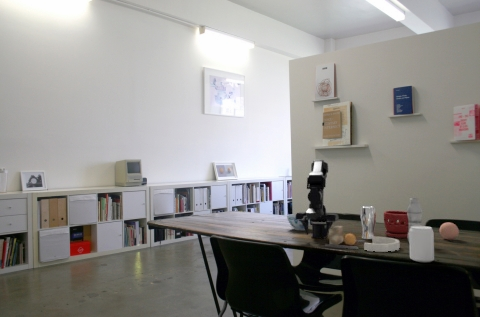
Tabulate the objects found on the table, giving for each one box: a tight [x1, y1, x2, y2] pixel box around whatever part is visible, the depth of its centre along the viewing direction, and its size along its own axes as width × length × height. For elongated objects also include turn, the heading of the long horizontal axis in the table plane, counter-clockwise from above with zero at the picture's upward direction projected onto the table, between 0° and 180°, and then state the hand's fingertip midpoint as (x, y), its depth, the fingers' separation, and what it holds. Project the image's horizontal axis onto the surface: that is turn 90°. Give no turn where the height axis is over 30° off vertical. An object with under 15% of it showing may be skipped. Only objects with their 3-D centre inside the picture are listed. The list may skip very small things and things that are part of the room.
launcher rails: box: [324, 238, 367, 250], centre depth 175 cm, size 14×16×1 cm
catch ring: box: [363, 235, 401, 253], centre depth 167 cm, size 12×19×3 cm, turn 151°
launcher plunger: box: [328, 225, 344, 245], centre depth 177 cm, size 3×12×7 cm, turn 151°
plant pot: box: [383, 210, 409, 239], centre depth 194 cm, size 13×13×12 cm
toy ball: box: [439, 222, 460, 241], centre depth 184 cm, size 8×8×8 cm
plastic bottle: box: [406, 197, 423, 242], centre depth 175 cm, size 6×7×20 cm
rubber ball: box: [343, 233, 357, 246], centre depth 174 cm, size 5×5×5 cm
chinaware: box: [286, 213, 311, 231], centre depth 220 cm, size 15×15×8 cm
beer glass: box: [360, 205, 377, 240], centre depth 190 cm, size 7×7×15 cm
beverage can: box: [408, 225, 435, 263], centre depth 145 cm, size 8×8×12 cm
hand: (317, 235), depth 181 cm, fingers open, 9 cm apart
